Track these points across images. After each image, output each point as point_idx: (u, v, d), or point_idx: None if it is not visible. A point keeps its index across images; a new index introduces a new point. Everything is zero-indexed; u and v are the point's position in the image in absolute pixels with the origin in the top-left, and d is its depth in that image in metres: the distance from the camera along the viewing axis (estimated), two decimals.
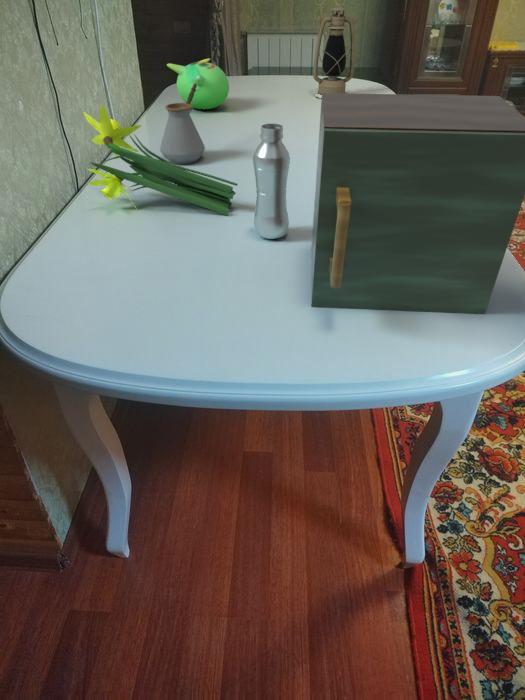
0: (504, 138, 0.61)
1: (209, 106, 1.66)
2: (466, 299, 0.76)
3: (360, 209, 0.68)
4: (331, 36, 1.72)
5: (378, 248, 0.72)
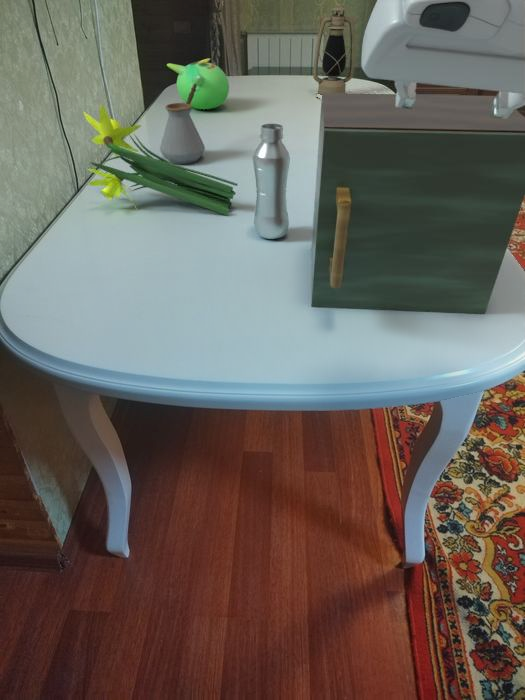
0: (504, 138, 0.61)
1: (209, 106, 1.66)
2: (466, 299, 0.76)
3: (360, 209, 0.68)
4: (331, 36, 1.72)
5: (378, 248, 0.72)
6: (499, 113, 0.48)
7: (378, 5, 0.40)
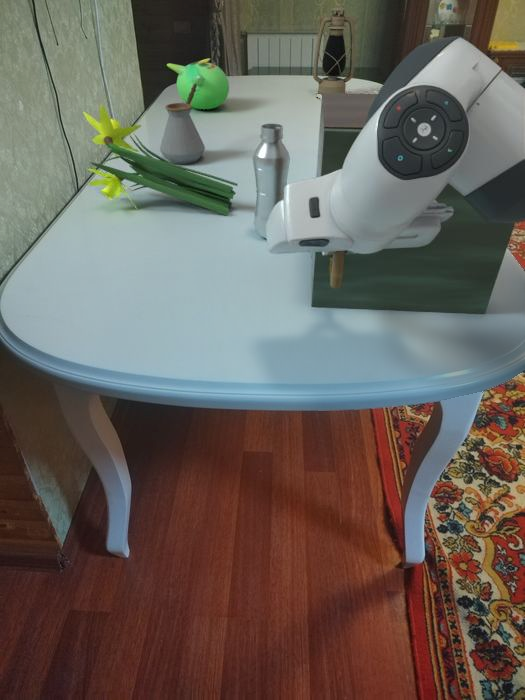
0: None
1: (209, 106, 1.66)
2: (466, 299, 0.76)
3: None
4: (331, 36, 1.72)
5: None
6: (349, 252, 0.67)
7: (271, 218, 0.58)
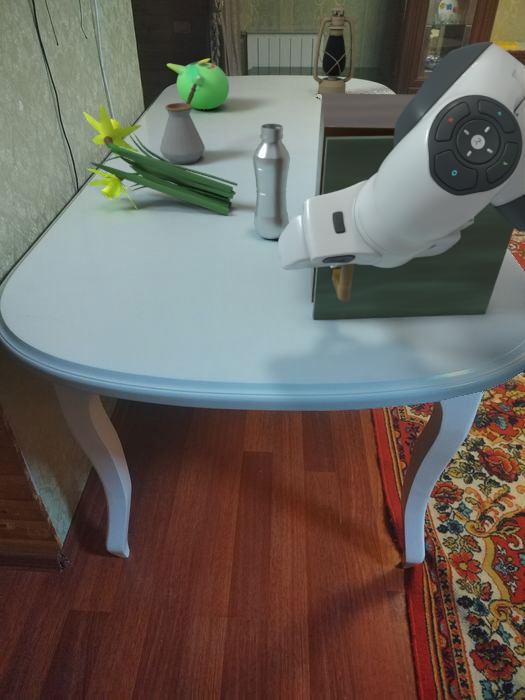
0: None
1: (209, 106, 1.66)
2: (467, 301, 0.75)
3: None
4: (331, 36, 1.72)
5: None
6: (361, 264, 0.64)
7: (287, 233, 0.54)
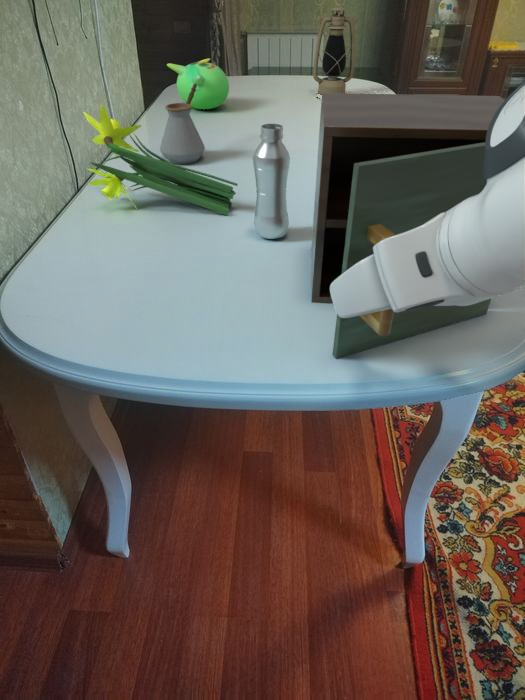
0: None
1: (209, 106, 1.66)
2: (473, 305, 0.74)
3: None
4: (331, 36, 1.72)
5: None
6: None
7: (351, 279, 0.47)
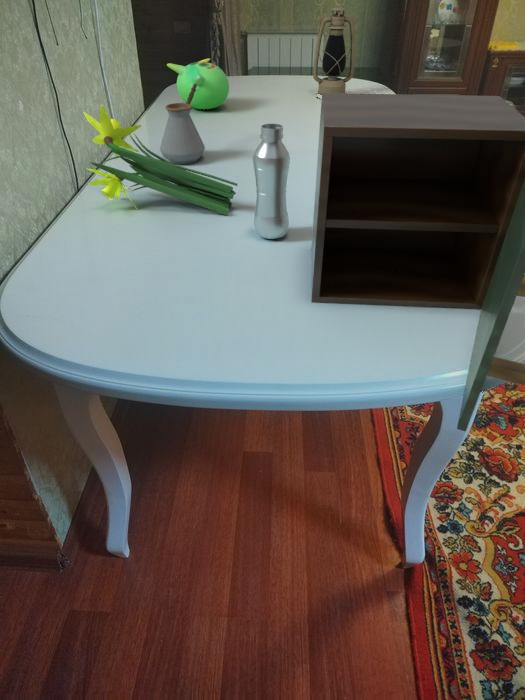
0: None
1: (209, 106, 1.66)
2: None
3: None
4: (331, 36, 1.72)
5: None
6: None
7: None
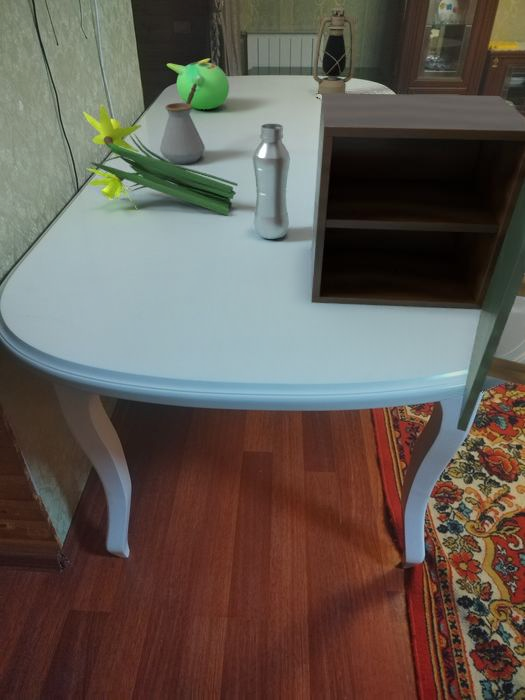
0: None
1: (209, 106, 1.66)
2: None
3: None
4: (331, 36, 1.72)
5: None
6: None
7: None
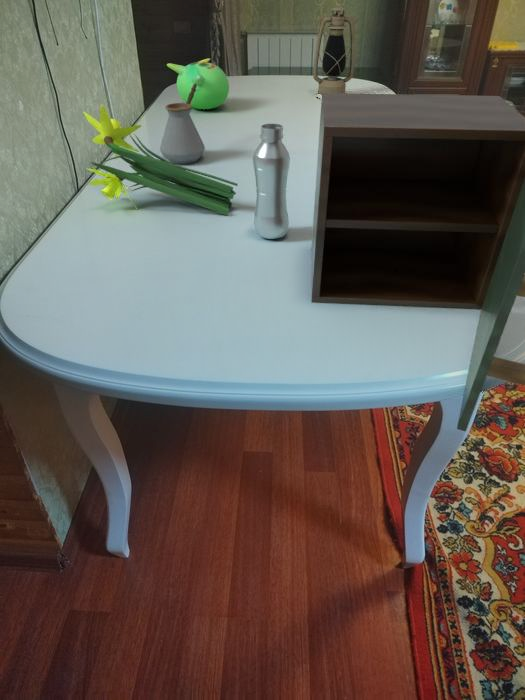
0: None
1: (209, 106, 1.66)
2: None
3: None
4: (331, 36, 1.72)
5: None
6: None
7: None
